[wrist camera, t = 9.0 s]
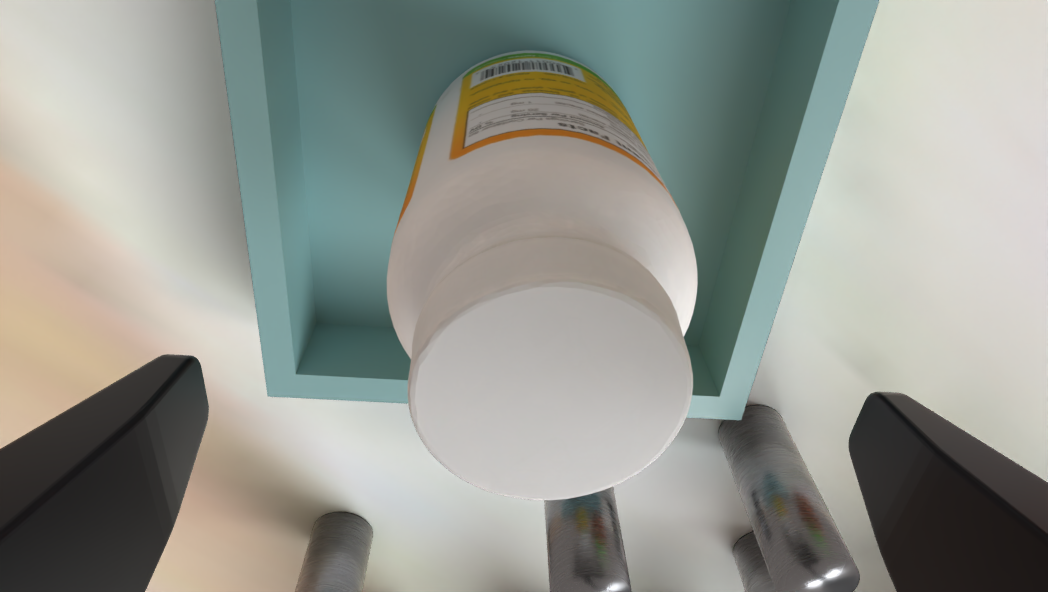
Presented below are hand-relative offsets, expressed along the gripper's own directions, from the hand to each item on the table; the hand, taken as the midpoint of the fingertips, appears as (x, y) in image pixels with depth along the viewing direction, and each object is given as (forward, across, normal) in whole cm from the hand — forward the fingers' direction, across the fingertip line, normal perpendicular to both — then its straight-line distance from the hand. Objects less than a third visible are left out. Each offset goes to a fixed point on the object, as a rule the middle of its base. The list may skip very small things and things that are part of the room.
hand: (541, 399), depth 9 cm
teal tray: (+10, 0, 0) cm, 10 cm away
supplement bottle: (+10, 0, 0) cm, 10 cm away
